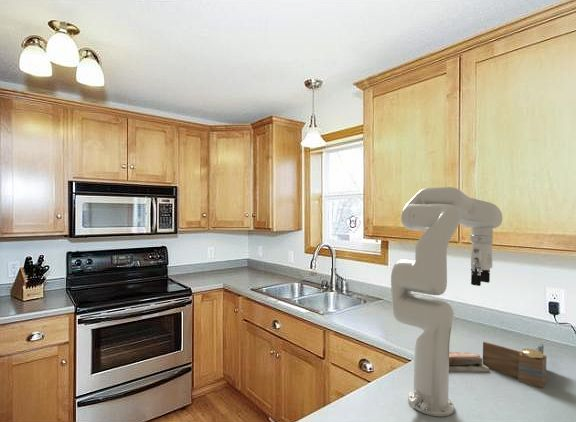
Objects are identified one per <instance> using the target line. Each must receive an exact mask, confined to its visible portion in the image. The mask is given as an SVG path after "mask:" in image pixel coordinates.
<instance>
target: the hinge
mask: <svg viewBox="0 0 576 422" xmlns="http://www.w3.org/2000/svg"><path fill="white" fill-rule="evenodd" d="M535 350H537V351H540V352H542V353H543V359H533V358H529V357H526V356H524V355H523V354H522V351H520V350H516V349H513V348H508V347H505V346H501V345H498V344H494V343H490V342H487V341H483V342H482V364H483V365H485V366H486V367H488V368H489V369H491V370H495V371H498V372H500V373H504V374H507V375H510V376H512V377H516V378H517V380H518V382H520V383H521V382H522V383H524V384H528V385H529V386H533V387H537V388H539V389H543V388H544V386H545V384H546V383H547V358H548V357H547V355H545V354H544V343H540V344H539V345H538V347H537V348H536V349H535Z"/></svg>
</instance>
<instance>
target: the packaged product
mask: <svg viewBox="0 0 576 422" xmlns="http://www.w3.org/2000/svg"><path fill="white" fill-rule="evenodd" d="M489 370H490V368H488V367H486V366H485V365H483V357H481V355H480V354H478V353H474V352H468V351H449V372H476V373H477V372H489Z"/></svg>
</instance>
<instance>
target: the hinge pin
mask: <svg viewBox="0 0 576 422" xmlns="http://www.w3.org/2000/svg"><path fill="white" fill-rule="evenodd" d="M521 352H522V354H523V355H524V356H526V357H529V358H533V359H543V355H544V352H543V353H542V352H540V351H537V350H536V349H533V348H522V349H521Z"/></svg>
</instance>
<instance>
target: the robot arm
mask: <svg viewBox="0 0 576 422" xmlns="http://www.w3.org/2000/svg"><path fill="white" fill-rule="evenodd" d="M400 221H401V223H402V226H403V227H404V228H405V229H407V230H409V231H413V232H414V231H417V232H424V233H423V234H422V235H421V236H420V237H419V239H418V240H417V241H416V244H415V251H414V252H415V254H414V256H415V260H414V259H413V260H412V259H400V260H397V261H396V262H395V264H393V266H392V267H393V268H392V270H391V274H390V288H391V291H390V292H391V308H392V309H391V310H392V315H393V317H394V319H395V320H396V321H397V322H399V323H402V324H405V325H408V326H411V327H416V328H418V329H422V332H421V334H420V335H419V336H417V338H416V339H415V342H414V354H413V355H414V360H413V361H414V363H413V365H414V366H413V390H412V391H409V393H408V395H407V396H408V397H407V400H408V405H409V407H410V408H412V409H415V410H417V411H418V412H420V413H423V414H425V415H427V416H434V417H441V418H442V417H448V416H450V415H452V414H453V413H454V411H455V406H454V403H453V401H452V400H451V399H450V398H449V379H450V377H449V376H450V374H449V372H450V371H449V352H450V341H451V333H452V328H453V323H454V316H455V312H454V309H453V307H452V306H451V305H450V303H448V302H447V301H445V300H442V299H439V298H434V297H431V296H440V295H443V294H445V292H446V291H447V285H448V265H447V261H448V260H447V253H448V251H447V250H448V245H449V243H450V241H451V239H452V237H453V235H454V234H455V232H456V231H457V229H458V228H459V226H460V225H461V226H462V227H466V228H470V244H471V253H470V255H471V256H470V271H471V272H470V275H471V277H470V278H471V279H470V282H471V283H470V285H472V286H477V287H480V286H482V282H483V283H487V284H489V283H490V282H491V281H490V275H491V274H490V273H491V271H490V270H491V269H492V268H493V249H492V248H493V247H492V245H493V244H494V243H493V239H494V237H493V235H494V234H493V233H494V232H493V231H494V229H497V228H498V227H500V226H501V225H502V222H503V213H502V211H501V209H500V208H499V207H498V205H496V204H495V203H492V202H489V201H485V200H481V199H476V198H473V197H469V196H468V195H467V194H466V193H464V192H463V191H462V190H460V189H459V188H457V187H453V186H442V187H437V186H436V187H424V188H422V189H420V190H419V191H418V192H417V193H415V195H414V196H413V197H412V198H411V199H410V200H409V201H408V202H407V203H406V204H405V206H404V207H403V209H402V211H401V216H400ZM412 292H413V293H412ZM414 293H417V294H414ZM419 294H422V295H419ZM424 295H425V296H424ZM426 295H429V296H426Z"/></svg>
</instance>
